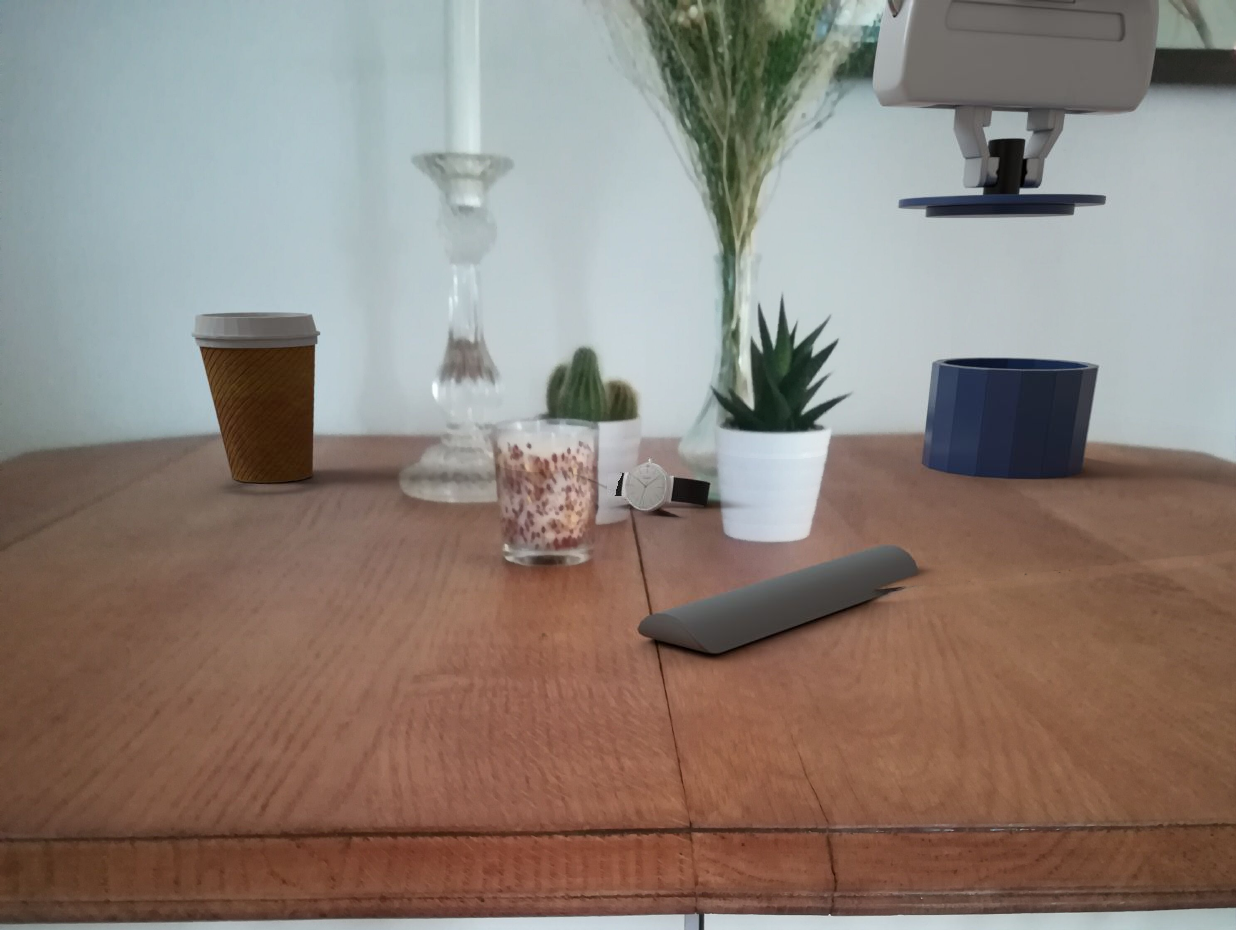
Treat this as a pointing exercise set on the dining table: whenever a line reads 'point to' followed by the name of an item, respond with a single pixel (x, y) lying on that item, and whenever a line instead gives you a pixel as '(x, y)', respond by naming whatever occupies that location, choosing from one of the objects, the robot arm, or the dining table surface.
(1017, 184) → the lid
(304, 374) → the disposable coffee cup
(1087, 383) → the pot
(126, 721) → the dining table surface
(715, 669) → the dining table surface
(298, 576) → the dining table surface
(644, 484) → the watch
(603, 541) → the dining table surface
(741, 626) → the half round rod
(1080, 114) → the robot arm
